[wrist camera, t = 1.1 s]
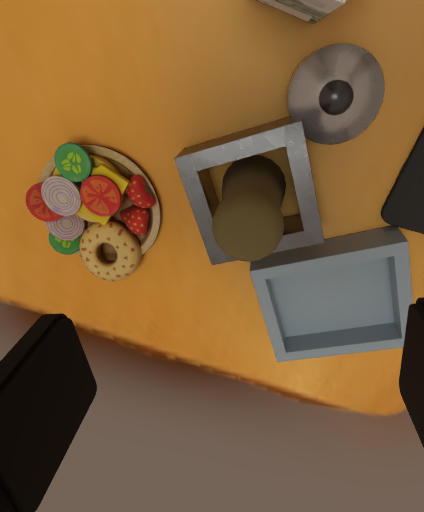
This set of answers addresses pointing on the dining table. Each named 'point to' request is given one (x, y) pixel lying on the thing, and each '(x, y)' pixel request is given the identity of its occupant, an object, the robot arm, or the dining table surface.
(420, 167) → the phone
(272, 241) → the cork
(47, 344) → the robot arm
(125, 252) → the toy food set
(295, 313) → the tray
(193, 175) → the collar
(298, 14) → the syrup box
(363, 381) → the dining table surface
